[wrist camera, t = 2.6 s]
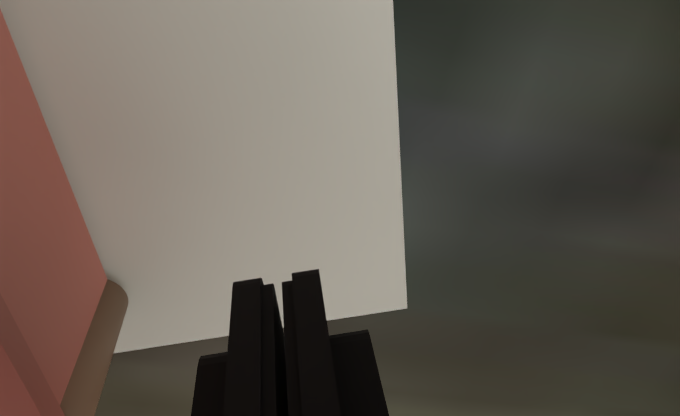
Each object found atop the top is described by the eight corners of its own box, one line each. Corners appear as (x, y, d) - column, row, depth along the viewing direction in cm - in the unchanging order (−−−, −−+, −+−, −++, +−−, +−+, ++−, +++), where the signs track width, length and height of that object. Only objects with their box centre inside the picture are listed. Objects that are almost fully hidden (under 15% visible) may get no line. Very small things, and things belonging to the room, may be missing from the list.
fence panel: (-76, -17, 13) (-330, 71, 7) (5, -27, 13) (-189, 53, 8) (79, 324, 19) (0, 523, 13) (135, 316, 19) (80, 510, 13)
